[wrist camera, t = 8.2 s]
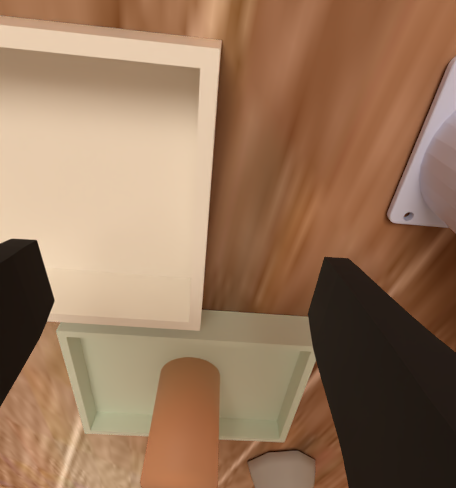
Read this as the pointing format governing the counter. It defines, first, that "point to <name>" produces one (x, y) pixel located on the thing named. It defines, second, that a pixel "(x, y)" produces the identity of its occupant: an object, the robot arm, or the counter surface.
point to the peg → (184, 427)
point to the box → (110, 166)
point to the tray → (198, 346)
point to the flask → (283, 470)
